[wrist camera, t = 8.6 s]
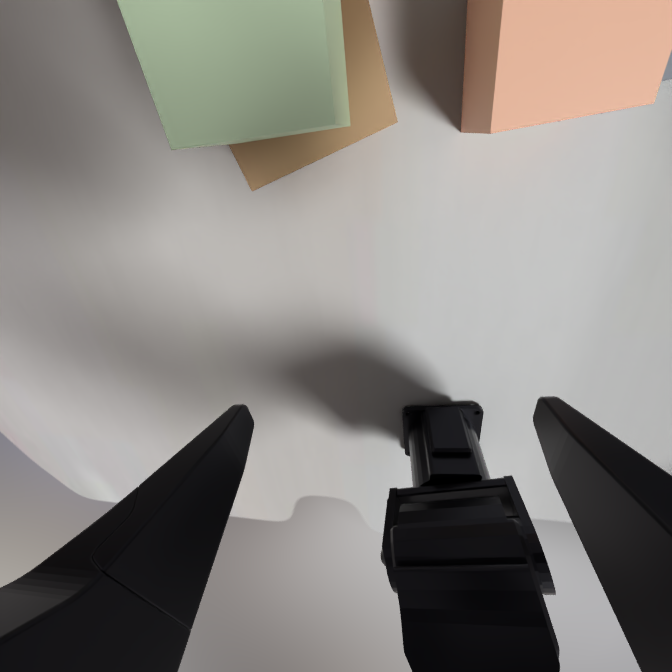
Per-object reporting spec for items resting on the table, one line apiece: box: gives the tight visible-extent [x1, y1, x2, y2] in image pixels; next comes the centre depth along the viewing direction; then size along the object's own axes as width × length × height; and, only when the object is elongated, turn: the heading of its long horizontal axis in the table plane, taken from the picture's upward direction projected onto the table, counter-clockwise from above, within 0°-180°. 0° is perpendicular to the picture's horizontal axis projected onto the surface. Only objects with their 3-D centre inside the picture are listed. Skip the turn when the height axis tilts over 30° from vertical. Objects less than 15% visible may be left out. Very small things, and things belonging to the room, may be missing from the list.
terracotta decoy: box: [461, 0, 672, 134], centre depth 11 cm, size 5×5×5 cm
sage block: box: [117, 0, 351, 150], centre depth 9 cm, size 5×5×5 cm
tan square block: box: [228, 0, 398, 191], centre depth 13 cm, size 7×7×4 cm
